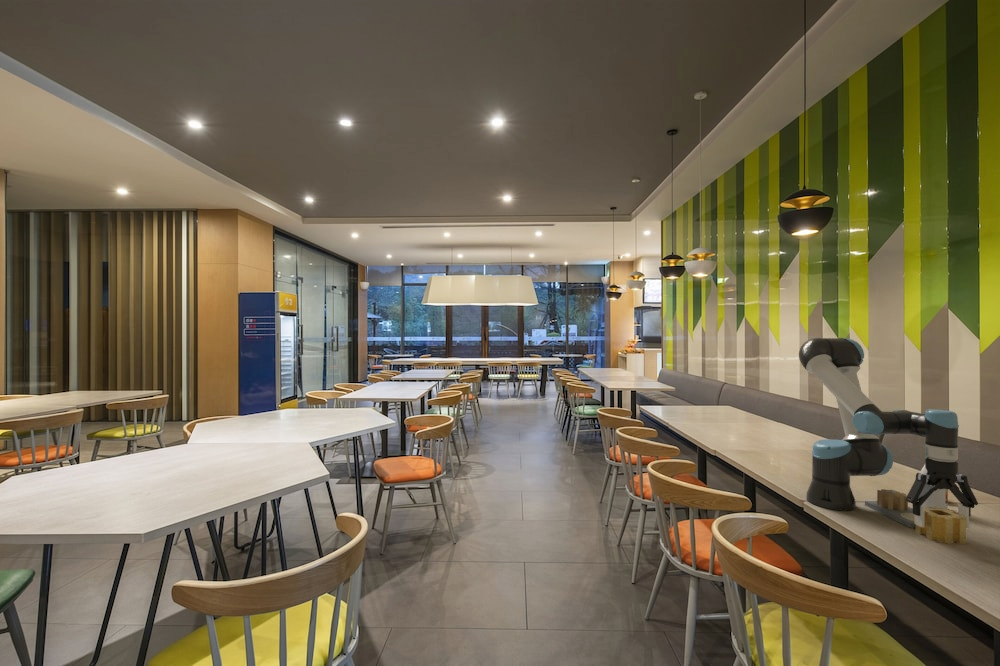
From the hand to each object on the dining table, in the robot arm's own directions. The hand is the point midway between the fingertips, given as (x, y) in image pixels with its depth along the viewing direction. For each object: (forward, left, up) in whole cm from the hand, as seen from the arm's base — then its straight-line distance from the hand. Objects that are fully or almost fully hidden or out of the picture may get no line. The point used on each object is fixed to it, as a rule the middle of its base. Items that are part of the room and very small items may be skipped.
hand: (941, 526), depth 145 cm
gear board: (+2, +16, -3) cm, 17 cm away
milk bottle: (+20, +25, -4) cm, 32 cm away
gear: (0, 0, -3) cm, 3 cm away
